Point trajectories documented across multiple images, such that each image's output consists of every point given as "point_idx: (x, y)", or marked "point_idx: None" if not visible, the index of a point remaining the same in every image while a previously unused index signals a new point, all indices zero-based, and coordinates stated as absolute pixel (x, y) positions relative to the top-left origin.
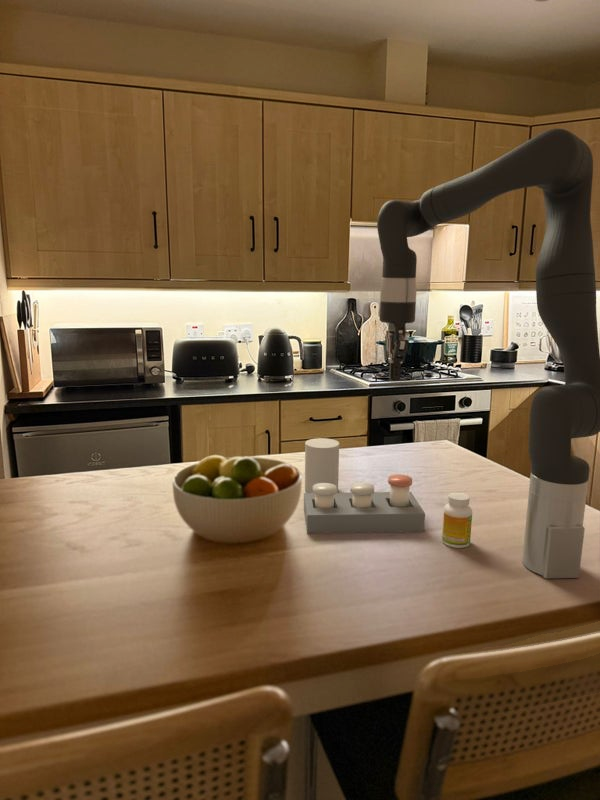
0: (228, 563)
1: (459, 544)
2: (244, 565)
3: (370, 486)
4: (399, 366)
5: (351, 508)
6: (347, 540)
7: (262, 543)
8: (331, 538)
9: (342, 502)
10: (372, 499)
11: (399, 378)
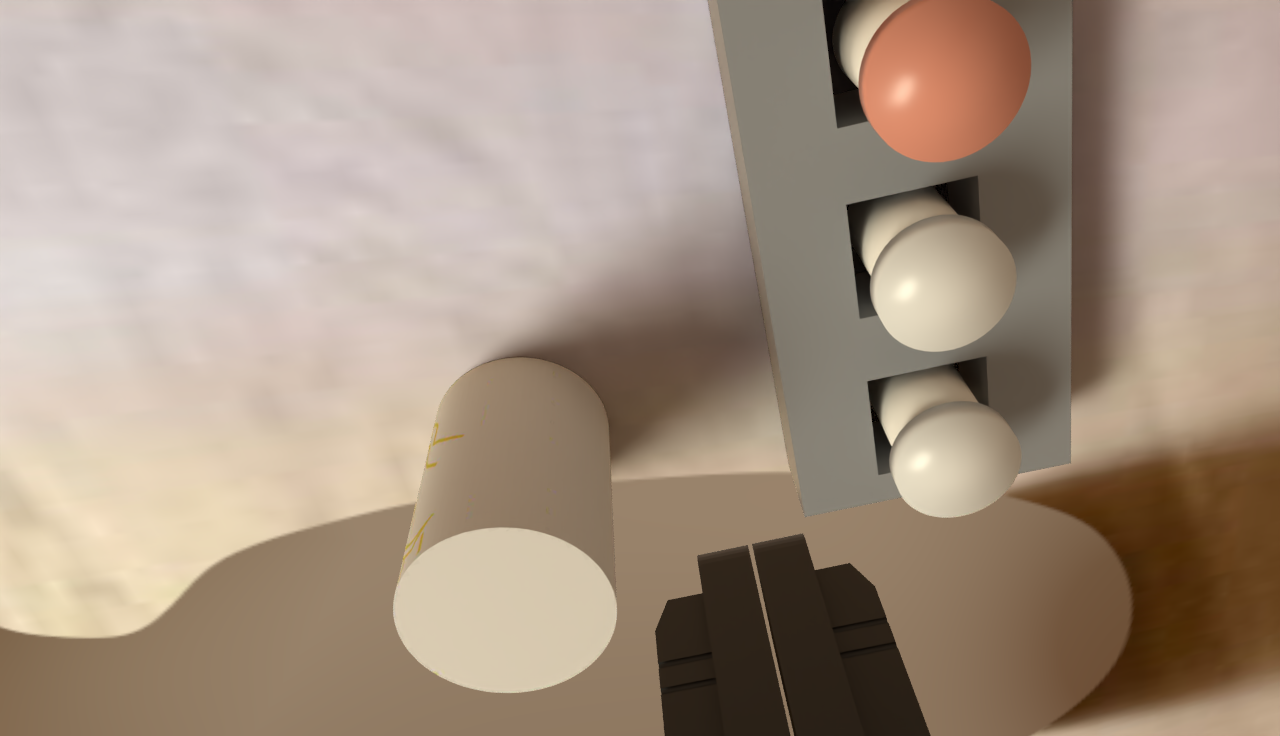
0: (1252, 594)
1: None
2: (1274, 550)
3: (943, 247)
4: (925, 728)
5: None
6: (1107, 253)
7: (1113, 538)
8: (1083, 318)
9: None
10: (866, 198)
11: (805, 553)
